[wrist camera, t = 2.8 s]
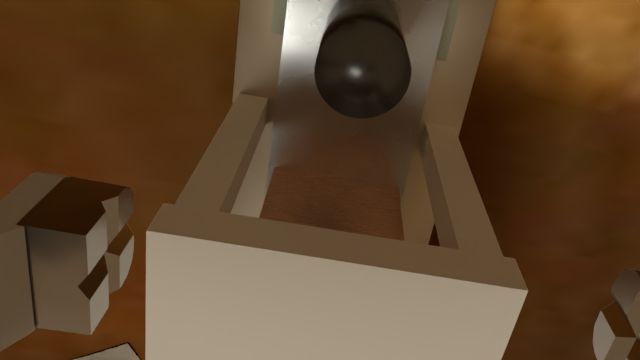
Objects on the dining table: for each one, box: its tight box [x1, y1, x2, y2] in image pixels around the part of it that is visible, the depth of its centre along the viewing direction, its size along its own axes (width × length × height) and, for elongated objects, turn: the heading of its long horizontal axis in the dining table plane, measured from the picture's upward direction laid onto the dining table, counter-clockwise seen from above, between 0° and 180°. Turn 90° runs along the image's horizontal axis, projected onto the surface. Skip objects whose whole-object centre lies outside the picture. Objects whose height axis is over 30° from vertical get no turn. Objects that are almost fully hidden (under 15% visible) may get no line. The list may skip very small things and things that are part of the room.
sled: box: [259, 0, 450, 241], centre depth 27 cm, size 7×24×7 cm, turn 172°
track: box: [231, 0, 496, 245], centre depth 31 cm, size 11×42×2 cm, turn 172°
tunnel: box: [146, 93, 528, 360], centre depth 25 cm, size 11×12×12 cm
